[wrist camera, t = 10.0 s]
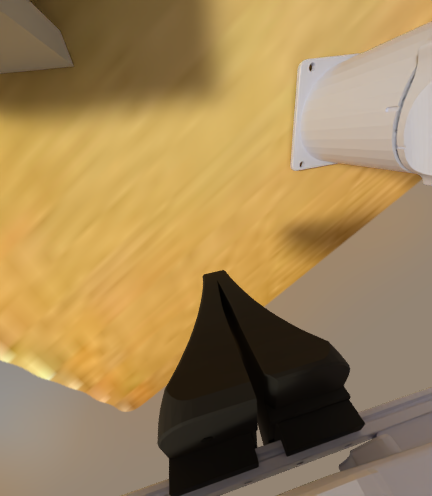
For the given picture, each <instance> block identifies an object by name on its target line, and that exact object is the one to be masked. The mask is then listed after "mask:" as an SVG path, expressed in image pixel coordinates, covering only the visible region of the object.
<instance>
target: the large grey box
mask: <svg viewBox="0 0 432 496" xmlns="http://www.w3.org/2000/svg"><path fill="white" fill-rule="evenodd" d="M73 66H74V65H73V63H72V60H71V57H70V55H69V52H68V50H67V47H66V44H65V42H64V39H63V36H62V34H61V31H60V30H59V29H58V28H57V27H56V26H55V25H54V24H53V23H52V22H51V21H50V20H49V19H48V18H47V17H45V16H44V15H43V14H42V13H41V12H40V11H39V10H38V9H37V8H36V7H35V6H34V5H33V4H32V3H31V2H30V1H29V0H0V74H1V73H12V72H22V71H32V70H42V69H52V68H63V67H73Z"/></svg>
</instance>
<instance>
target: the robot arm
mask: <svg viewBox="0 0 432 496" xmlns="http://www.w3.org/2000/svg"><path fill="white" fill-rule="evenodd" d="M310 65H311V66H312V70H311V71H310V70H309V66H310ZM301 162H302V165H301V166H300V163H301ZM337 163H342V164H349V165H356V166H364V167H371V168H378V169H386V170H393V171H400V172H408V173H415V174H418V175H420V176H421V177H422V179H423V184H424V185H430V186H432V21H431V22H429V23H427V24H424V25H422V26H420V27H418V28H416V29H413V30H411V31H409V32H407V33H405V34H402V35H400V36H398V37H396V38H394V39H391V40H389V41H387V42H385V43H383V44H381V45H378V46H376V47H374V48H372V49H370V50H367V51H365V52H363V53H359V54H350V55H341V56H331V57H322V58H313V59H306V60H304V61H302V62H301V63H300V64H299V66H298V72H297V86H296V99H295V113H294V126H293V140H292V153H291V169H292V170H294V171H298V170H303V169H309V168H314V167H320V166H326V165H331V164H337ZM349 372H350V367H349V365H348V363H347V362H346V361H345V359H344V358H343V357H342V356H341V355H340V353H339V352H338V351H337V350H336V349H335V348H334V347H333V346H332V345H331V344H330V343H329V342H328V341H326V340H324V339H321V338H319V337H317V336H315V335H312V334H310V333H308V332H305V331H303V330H301V329H299V328H297V327H295V326H294V325H292V324H290V323H288V322H287V321H285V320H283V319H281V318H280V317H278V316H276V315H275V314H273V313H272V312H270V311H269V310H267V309H266V308H264V307H263V306H262V305H260V304H259V303H258V302H256V301H255V300H254V299H253V298H251V297H250V296H249V295H248V294H247V293H246V292H244V291H243V290H242V289H241V288H240V287H239V286H238V285H237V284H236V283H235V282H234V281H233V280H232V279H231V278H230V276H229V275H228V274H227V273H226V271H224V270H222V271H217V272H213V273H209V274H204V275H203V292H202V298H201V304H200V308H199V312H198V316H197V319H196V323H195V326H194V329H193V332H192V334H191V337H190V340H189V342H188V344H187V347H186V349H185V351H184V353H183V355H182V358H181V360H180V362H179V364H178V366H177V368H176V370H175V372H174V373H173V375H172V377H171V379H170V381H169V383H168V384H167V386H166V388H165V391H164V395H163V399H162V404H161V408H160V415H159V423H158V446H159V448H160V449H161V450H162V451H163V452H164V453H165V454H166V455H167V457H168V458H169V479H167V480H164V481H161V482H159V483H156V484H153V485H150V486H147V487H144V488H142V489H139V490H136V491H133V492H130V493H127V494H125V495H121V496H220V495H223V494H225V493H228V492H230V491H233V490H236V489H239V488H241V487H244V486H247V485H249V484H252V483H255V482H257V481H260V480H263V479H265V478H268V477H271V476H274V475H276V474H279V473H282V472H284V471H287V470H290V469H292V468H295V467H298V466H300V465H303V464H306V463H308V462H311V461H314V460H316V459H319V458H322V457H325V456H327V455H330V454H333V453H335V452H338V451H340V450H343V449H346V448H349V447H351V446H354V445H357V444H359V443H362V442H365V441H367V440H370V439H372V440H371V441H368V442H366V443H365V444H363V445H361V446H359V447H357V448H355V449H353V450H351V451H350V456H349V457H348V458H347V459H346V460H345V461H344V462H343V463H341V464H340V465H339V469H340V471H341V472H338V473H335V474H332V475H329V476H326V477H323V478H321V479H318V480H315V481H312V482H310V483H307V484H304V485H302V486H300V487H297V488H294V489H292V490H289V491H287V492H284V493H282V494H279V495H277V496H432V387H429V388H426V389H424V390H421V391H418V392H415V393H412V394H409V395H407V396H404V397H401V398H398V399H395V400H392V401H389V402H387V403H384V404H381V405H378V406H375V407H372V408H370V409H367V410H364V411H361V412H357V411H356V409H355V408H354V406H353V405H352V403H351V402H350V401H349V399H350V395H349V393H348V392H347V390H346V389H345V388H344V384H345V382H346V380H347V377H348V375H349ZM257 423H258V426H259V430H260V434H261V437H262V441H263V445H264V446H261V447H257V436H256V431H257V429H258V427H257Z"/></svg>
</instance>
